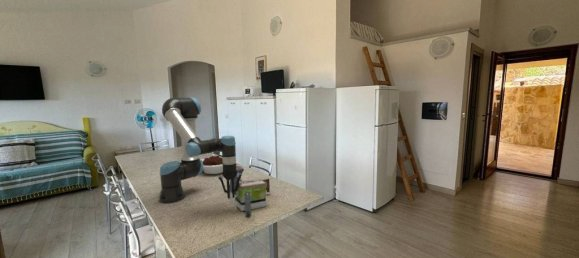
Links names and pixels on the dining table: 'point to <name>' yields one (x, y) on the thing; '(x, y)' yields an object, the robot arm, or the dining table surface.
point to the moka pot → (240, 171)
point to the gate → (267, 185)
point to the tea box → (251, 193)
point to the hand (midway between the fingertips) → (231, 203)
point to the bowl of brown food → (213, 165)
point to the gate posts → (247, 204)
